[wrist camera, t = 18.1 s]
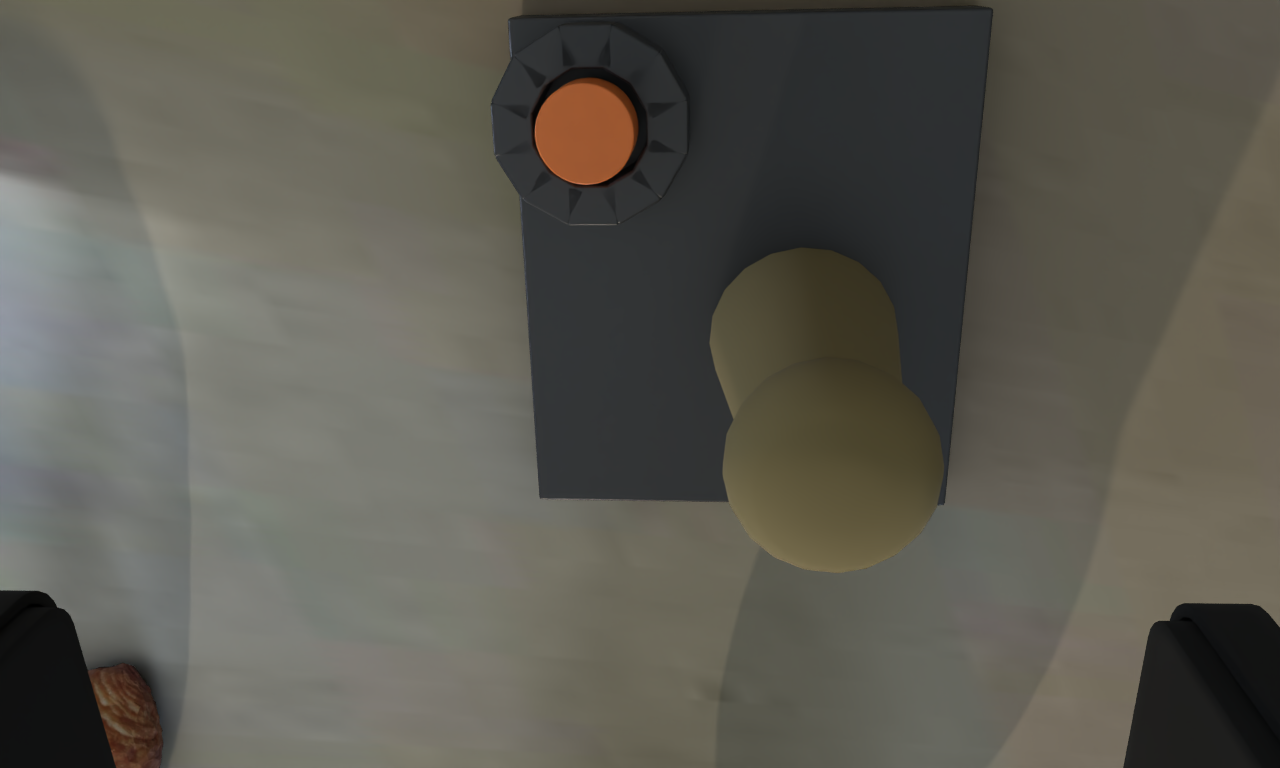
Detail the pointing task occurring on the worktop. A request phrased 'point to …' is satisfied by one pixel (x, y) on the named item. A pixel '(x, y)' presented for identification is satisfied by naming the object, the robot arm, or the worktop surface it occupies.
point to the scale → (732, 214)
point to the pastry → (128, 716)
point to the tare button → (586, 131)
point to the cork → (821, 414)
